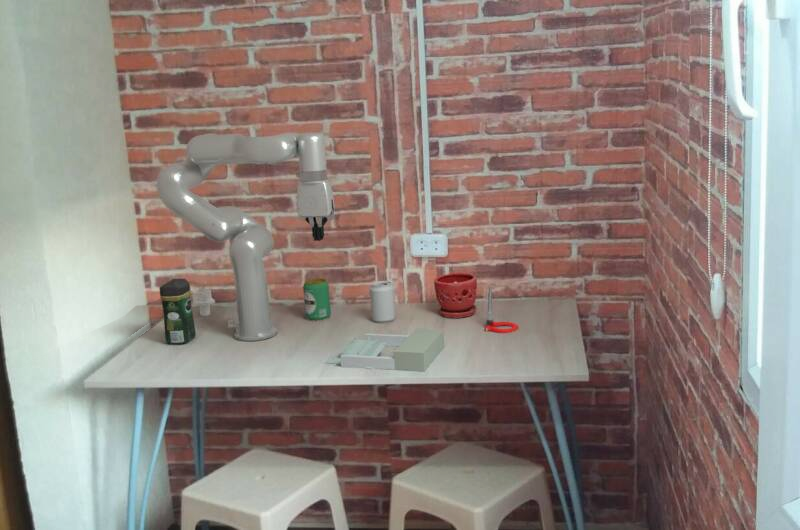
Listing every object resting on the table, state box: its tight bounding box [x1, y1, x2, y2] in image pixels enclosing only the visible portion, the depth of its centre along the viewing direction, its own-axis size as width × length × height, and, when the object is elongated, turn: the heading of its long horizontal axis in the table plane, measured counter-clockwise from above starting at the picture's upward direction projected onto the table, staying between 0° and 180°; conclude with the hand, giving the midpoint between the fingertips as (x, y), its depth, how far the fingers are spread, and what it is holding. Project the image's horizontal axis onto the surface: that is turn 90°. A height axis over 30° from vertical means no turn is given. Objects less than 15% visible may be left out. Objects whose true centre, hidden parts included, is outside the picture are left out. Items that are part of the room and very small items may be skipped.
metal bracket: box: [324, 336, 387, 371], centre depth 246 cm, size 14×6×15 cm
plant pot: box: [433, 272, 478, 319], centre depth 282 cm, size 13×13×12 cm
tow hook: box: [484, 285, 520, 334], centre depth 264 cm, size 8×13×9 cm
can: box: [369, 280, 397, 324], centre depth 280 cm, size 8×8×12 cm
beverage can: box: [302, 278, 332, 322], centre depth 287 cm, size 8×8×12 cm
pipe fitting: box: [192, 288, 216, 317], centre depth 299 cm, size 6×7×8 cm
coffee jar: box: [159, 278, 197, 346], centre depth 270 cm, size 10×8×19 cm
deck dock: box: [340, 328, 445, 372], centre depth 246 cm, size 23×20×5 cm
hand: (318, 239), depth 262 cm, fingers closed
